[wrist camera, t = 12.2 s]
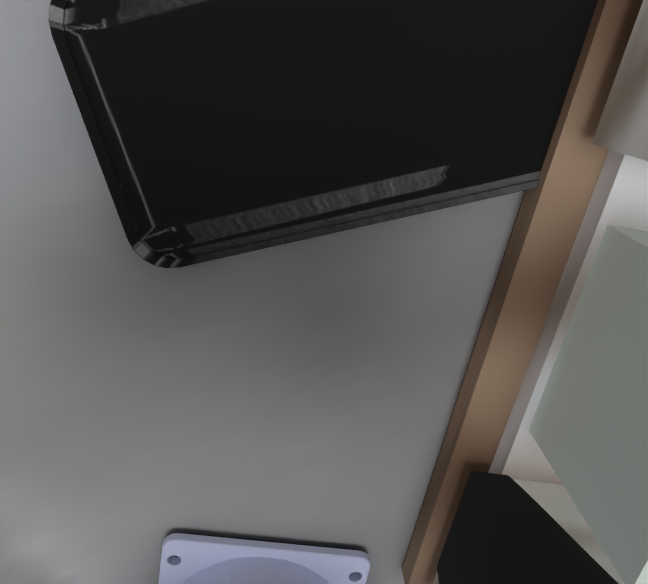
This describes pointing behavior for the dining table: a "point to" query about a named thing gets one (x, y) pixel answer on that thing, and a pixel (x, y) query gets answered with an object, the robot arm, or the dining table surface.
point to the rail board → (548, 284)
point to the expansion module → (605, 403)
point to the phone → (311, 110)
